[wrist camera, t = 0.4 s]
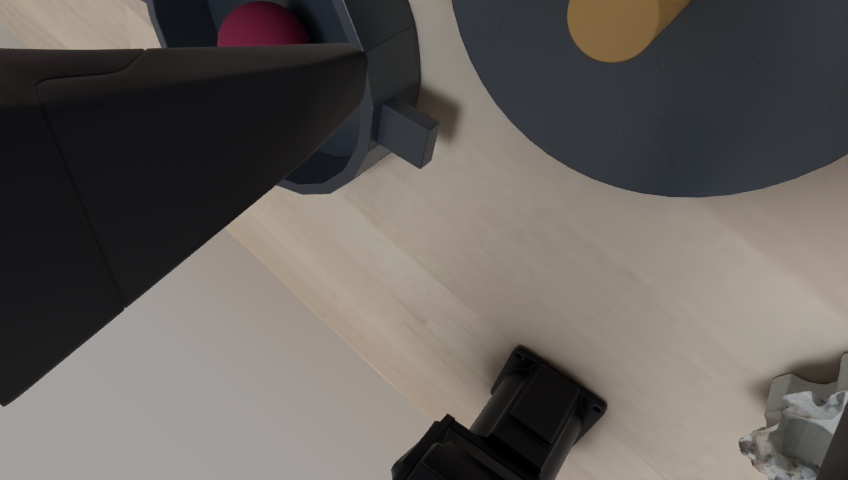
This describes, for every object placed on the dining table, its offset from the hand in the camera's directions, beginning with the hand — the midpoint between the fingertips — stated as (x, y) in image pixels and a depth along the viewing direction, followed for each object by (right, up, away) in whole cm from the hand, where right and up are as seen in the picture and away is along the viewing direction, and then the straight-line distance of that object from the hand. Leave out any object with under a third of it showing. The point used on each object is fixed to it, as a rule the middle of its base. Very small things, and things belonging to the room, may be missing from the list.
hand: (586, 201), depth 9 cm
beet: (-10, +11, +22) cm, 26 cm away
